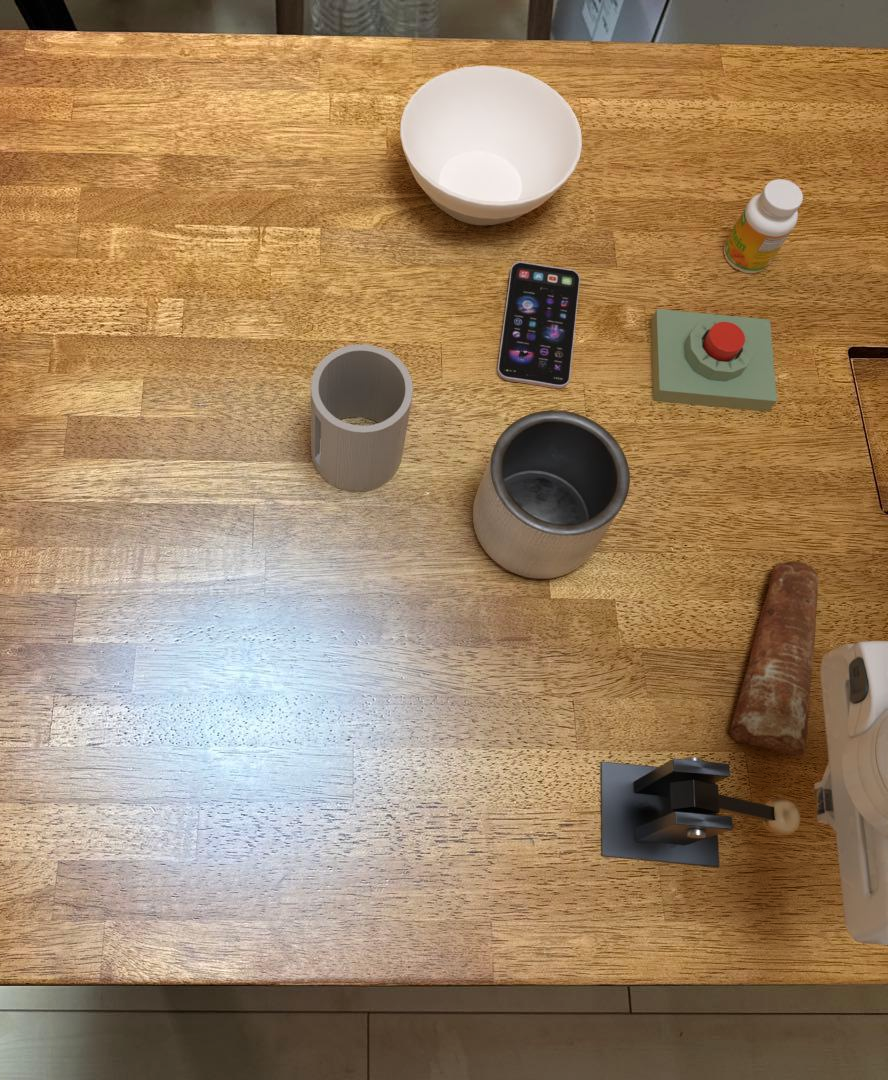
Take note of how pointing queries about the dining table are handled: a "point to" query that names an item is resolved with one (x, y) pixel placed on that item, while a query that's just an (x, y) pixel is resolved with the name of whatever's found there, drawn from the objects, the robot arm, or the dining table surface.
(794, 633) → the brown cured sausage
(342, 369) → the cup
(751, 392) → the button box
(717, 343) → the button
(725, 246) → the supplement bottle
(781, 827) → the lever
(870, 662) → the robot arm
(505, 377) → the smartphone
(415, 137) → the bowl
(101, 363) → the dining table surface
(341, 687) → the dining table surface
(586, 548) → the planter
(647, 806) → the lever base
